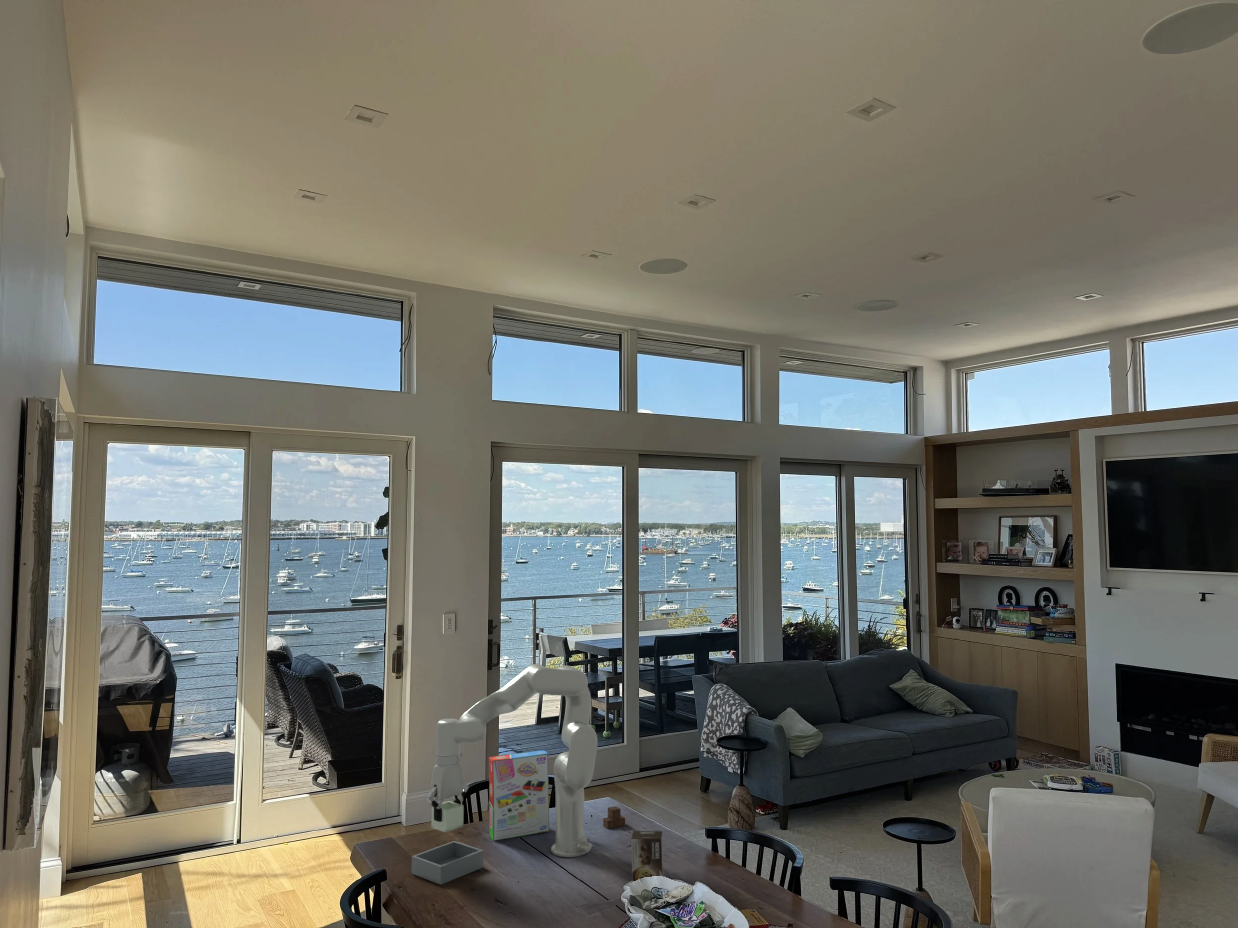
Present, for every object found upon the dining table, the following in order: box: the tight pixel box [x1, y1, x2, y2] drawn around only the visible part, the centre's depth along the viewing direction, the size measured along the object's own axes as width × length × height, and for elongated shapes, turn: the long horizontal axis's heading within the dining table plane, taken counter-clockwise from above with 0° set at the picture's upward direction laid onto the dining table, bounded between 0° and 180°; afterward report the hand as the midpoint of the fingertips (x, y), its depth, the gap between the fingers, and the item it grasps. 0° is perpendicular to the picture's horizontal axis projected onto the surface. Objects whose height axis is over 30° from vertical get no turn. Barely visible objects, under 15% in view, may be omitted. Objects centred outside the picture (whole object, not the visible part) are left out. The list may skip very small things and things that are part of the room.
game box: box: [488, 749, 550, 842], centre depth 296 cm, size 21×6×27 cm, turn 114°
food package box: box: [630, 830, 665, 882], centre depth 246 cm, size 9×6×16 cm
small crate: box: [430, 800, 465, 833], centre depth 265 cm, size 7×7×6 cm
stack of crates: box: [602, 805, 626, 830], centre depth 301 cm, size 15×15×7 cm
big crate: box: [411, 840, 484, 886], centre depth 263 cm, size 14×17×6 cm
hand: (447, 816), depth 264 cm, fingers closed on small crate, 7 cm apart
